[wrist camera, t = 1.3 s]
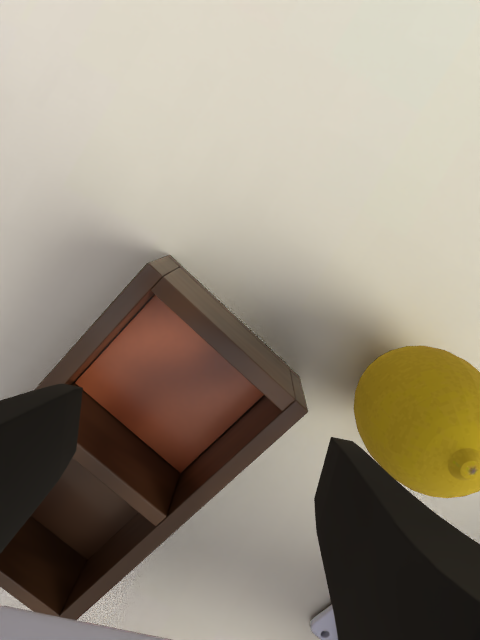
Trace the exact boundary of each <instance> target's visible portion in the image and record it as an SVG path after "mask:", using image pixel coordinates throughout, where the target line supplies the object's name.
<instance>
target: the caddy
mask: <svg viewBox="0 0 480 640" xmlns="http://www.w3.org/2000/svg"><path fill="white" fill-rule="evenodd" d="M56 384H67V385H72V386H77V387H82V388H83V392H82V401H81V411H80V420H79V430H78V439H77V449H76V452H75V454H74V456H73V457H72V459H71V461H70V463H69V464H68V466H67V468H66V469H65V471H64V473H63V474H62V476H61V478H60V479H59V481H58V482H57V483H56V485H55V486H54V487H53V488H52V490H51V491H50V492H49V494H48V495H47V496H46V497H45V499H44V500H43V501H42V502H41V504H40V505H39V506H38V507H37V509H36V510H35V511H34V512H33V514H32V515H31V516H30V517H29V519H28V520H27V521H26V522H25V524H24V525H23V526H22V527H21V528H20V530H19V531H18V532H17V533H16V535H15V536H14V537H13V538H12V540H11V541H10V542H9V543H8V545H7V546H6V547H5V548H4V550H3V551H2V552H1V554H0V587H2V588H3V589H4V590H6V591H7V592H8V593H10V594H11V595H12V596H14V597H15V598H16V599H18V600H19V601H20V602H22V603H23V604H24V605H26V606H27V607H28V608H30V609H31V610H32V611H34V612H37V613H42V614H47V615H52V616H57V617H62V618H67V619H72V620H77V619H78V618H79V617H80V616H81V615H83V614H84V613H85V612H86V611H87V610H88V609H89V608H90V607H91V606H93V605H94V604H95V603H96V602H97V601H98V600H99V599H100V598H101V597H103V596H104V595H105V594H106V593H107V592H108V591H109V590H110V589H111V588H113V587H114V586H115V585H116V584H117V583H118V582H119V581H120V580H121V579H123V578H124V577H125V576H126V575H127V574H128V573H129V572H130V571H131V570H133V569H134V568H135V567H136V566H137V565H138V564H139V563H140V562H142V561H143V560H144V559H145V558H146V557H147V556H148V555H149V554H150V553H152V552H153V551H154V550H155V549H156V548H157V547H158V546H159V545H160V544H162V543H163V542H164V541H165V540H166V539H167V538H168V537H169V536H170V535H172V534H173V533H174V532H175V531H176V530H177V529H178V528H179V527H180V526H182V525H183V524H184V523H185V522H186V521H187V520H188V519H189V518H190V517H192V516H193V515H194V514H195V513H196V512H197V511H198V510H199V509H201V508H202V507H203V506H204V505H205V504H206V503H207V502H208V501H209V500H211V499H212V498H213V497H214V496H215V495H216V494H217V493H218V492H219V491H221V490H222V489H223V488H224V487H225V486H226V485H227V484H228V483H229V482H231V481H232V480H233V479H234V478H235V477H236V476H237V475H238V474H239V473H241V472H242V471H243V470H244V469H245V468H246V467H247V466H248V465H249V464H251V463H252V462H253V461H254V460H255V459H256V458H257V457H258V456H260V455H261V454H262V453H263V452H264V451H265V450H266V449H267V448H268V447H270V446H271V445H272V444H273V443H274V442H275V441H276V440H277V439H278V438H280V437H281V436H282V435H283V434H284V433H285V432H286V431H287V430H288V429H290V428H291V427H292V426H293V425H294V424H295V423H296V422H297V421H298V420H300V419H301V418H302V417H303V416H304V415H305V414H306V413H307V412H308V409H307V405H306V401H305V397H304V393H303V389H302V385H301V381H300V377H299V376H298V375H297V374H296V373H295V372H294V371H293V370H292V369H291V368H290V367H289V366H288V365H286V364H285V363H284V362H283V361H282V360H281V359H280V358H279V357H278V356H277V355H276V354H275V353H274V352H273V351H272V350H271V349H269V348H268V347H267V346H266V345H265V344H264V343H263V342H262V341H261V340H260V339H259V338H258V337H257V336H256V335H255V334H254V333H252V332H251V331H250V330H249V329H248V328H247V327H246V326H245V325H244V324H243V323H242V322H241V321H240V320H239V319H238V318H236V317H235V316H234V315H233V314H232V313H231V312H230V311H229V310H228V309H227V308H226V307H225V306H224V305H223V304H222V303H221V302H219V301H218V300H217V299H216V298H215V297H214V296H213V295H212V294H211V293H210V292H209V291H208V290H207V289H206V288H205V287H204V286H202V285H201V284H200V283H199V282H198V281H197V280H196V279H195V278H194V277H193V276H192V275H191V274H190V273H189V272H188V271H186V270H185V269H184V268H183V267H182V266H181V265H180V264H179V263H178V262H177V261H176V260H175V259H174V258H173V257H172V256H171V255H168V256H165V257H163V258H160V259H157V260H155V261H152V262H149V263H147V264H146V265H145V266H144V267H143V268H142V270H141V271H140V272H139V273H138V274H137V275H136V276H135V277H134V279H133V280H132V281H131V282H130V283H129V284H128V285H127V286H126V288H125V289H124V290H123V291H122V292H121V293H120V294H119V295H118V297H117V298H116V299H115V300H114V301H113V302H112V303H111V304H110V306H109V307H108V308H107V309H106V310H105V311H104V312H103V313H102V315H101V316H100V317H99V318H98V319H97V320H96V321H95V322H94V324H93V325H92V326H91V327H90V328H89V329H88V330H87V331H86V333H85V334H84V335H83V336H82V337H81V338H80V339H79V340H78V342H77V343H76V344H75V345H74V346H73V347H72V348H71V349H70V351H69V352H68V353H67V354H66V355H65V356H64V357H63V358H62V360H61V361H60V362H59V363H58V364H57V365H56V366H55V367H54V369H53V370H52V371H51V372H50V373H49V374H48V375H47V376H46V378H45V379H44V380H43V381H42V382H41V383H40V384H39V385H38V387H37V388H36V389H35V390H37V389H41V388H44V387H48V386H52V385H56Z"/></svg>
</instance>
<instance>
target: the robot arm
mask: <svg viewBox="0 0 480 640" xmlns="http://www.w3.org/2000/svg"><path fill="white" fill-rule="evenodd" d="M82 392H83V388H82V387H77V386H72V385H67V384H56V385H52V386H48V387H44V388H41V389H37V390H34V391H30V392H27V393H24V394H21V395H17V396H14V397H11V398H7V399H4V400H1V401H0V554H1V552H2V551H3V550H4V548H5V547H6V546H7V545H8V543H9V542H10V541H11V540H12V538H13V537H14V536H15V535H16V533H17V532H18V531H19V530H20V528H21V527H22V526H23V525H24V524H25V522H26V521H27V520H28V519H29V517H30V516H31V515H32V514H33V512H34V511H35V510H36V509H37V507H38V506H39V505H40V504H41V502H42V501H43V500H44V499H45V497H46V496H47V495H48V494H49V492H50V491H51V490H52V488H53V487H54V486H55V485H56V483H57V482H58V481H59V479H60V478H61V476H62V474H63V473H64V471H65V469H66V468H67V466H68V464H69V463H70V461H71V459H72V457H73V456H74V454H75V452H76V449H77V439H78V430H79V420H80V411H81V401H82ZM314 501H315V517H316V529H317V536H318V541H319V546H320V551H321V556H322V560H323V565H324V570H325V574H326V579H327V584H328V589H329V593H330V598H331V603H332V604H331V605H330V606H329V607H327V608H326V609H325V610H323V611H322V612H321V613H319V614H318V615H317V616H316V617H314V618H313V619H312V620H311V622H310V627H311V631H312V632H313V633H314V634H315V635H316V636H317V637H319V638H320V639H321V640H480V544H478V543H477V542H475V541H474V540H472V539H471V538H469V537H468V536H466V535H465V534H463V533H462V532H461V531H459V530H458V529H456V528H455V527H454V526H452V525H451V524H449V523H448V522H447V521H445V520H444V519H442V518H441V517H440V516H438V515H437V514H436V513H434V512H433V511H432V510H430V509H429V508H428V507H427V506H426V505H424V504H423V503H422V502H421V501H419V500H418V499H417V498H416V497H415V496H413V495H412V494H411V493H410V492H409V491H408V490H406V489H405V488H404V487H403V486H402V485H401V484H400V483H398V482H397V481H396V480H395V479H394V478H393V477H392V476H391V475H390V474H389V473H387V472H386V471H385V470H384V469H383V468H382V467H381V466H380V465H379V464H378V463H377V462H376V461H375V460H373V459H372V458H371V457H370V456H369V455H368V454H367V453H366V452H365V451H364V450H363V449H361V448H360V447H359V446H358V445H357V444H355V443H354V442H353V441H348V440H343V439H338V438H333V437H331V439H330V443H329V447H328V450H327V454H326V458H325V461H324V465H323V469H322V472H321V476H320V480H319V483H318V487H317V491H316V494H315V498H314ZM0 640H171V639H166V638H161V637H156V636H151V635H146V634H141V633H136V632H131V631H126V630H121V629H117V628H112V627H107V626H102V625H97V624H92V623H87V622H82V621H77V620H72V619H67V618H62V617H57V616H52V615H47V614H42V613H37V612H32V611H27V610H22V609H17V608H12V607H7V606H0Z"/></svg>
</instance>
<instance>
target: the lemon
mask: <svg viewBox="0 0 480 640" xmlns="http://www.w3.org/2000/svg"><path fill="white" fill-rule="evenodd" d="M354 414H355V419H356V424H357V429H358V432H359V434H360V436H361V438H362V440H363V442H364V444H365V446H366V448H367V450H368V451H369V453H370V454H371V456H372V457H373V458H374V459H375V460H376V461H377V462H378V463H379V465H380V466H381V467H382V468H383V469H384V470H385V471H386V472H387V473H389V474H390V475H391V476H392V477H393V478H394V479H395V480H397V481H398V482H400V483H402V484H403V485H405V486H406V487H408V488H410V489H412V490H413V491H416V492H419V493H422V494H425V495H428V496H432V497H442V498H452V497H461V496H466V495H469V494H472V493H475V492H478V491H480V372H479V371H478V370H477V369H476V368H474V367H473V366H472V365H471V364H470V363H468V362H467V361H465V360H463V359H461V358H459V357H457V356H455V355H453V354H451V353H449V352H447V351H445V350H441V349H436V348H432V347H427V346H406V347H402V348H398V349H395V350H391V351H389V352H387V353H385V354H383V355H382V356H380V357H378V358H377V359H376V360H375V361H374V362H372V363H371V364H370V365H369V366H368V367H367V369H366V370H365V372H364V373H363V375H362V376H361V378H360V380H359V383H358V385H357V388H356V391H355V400H354Z"/></svg>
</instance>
